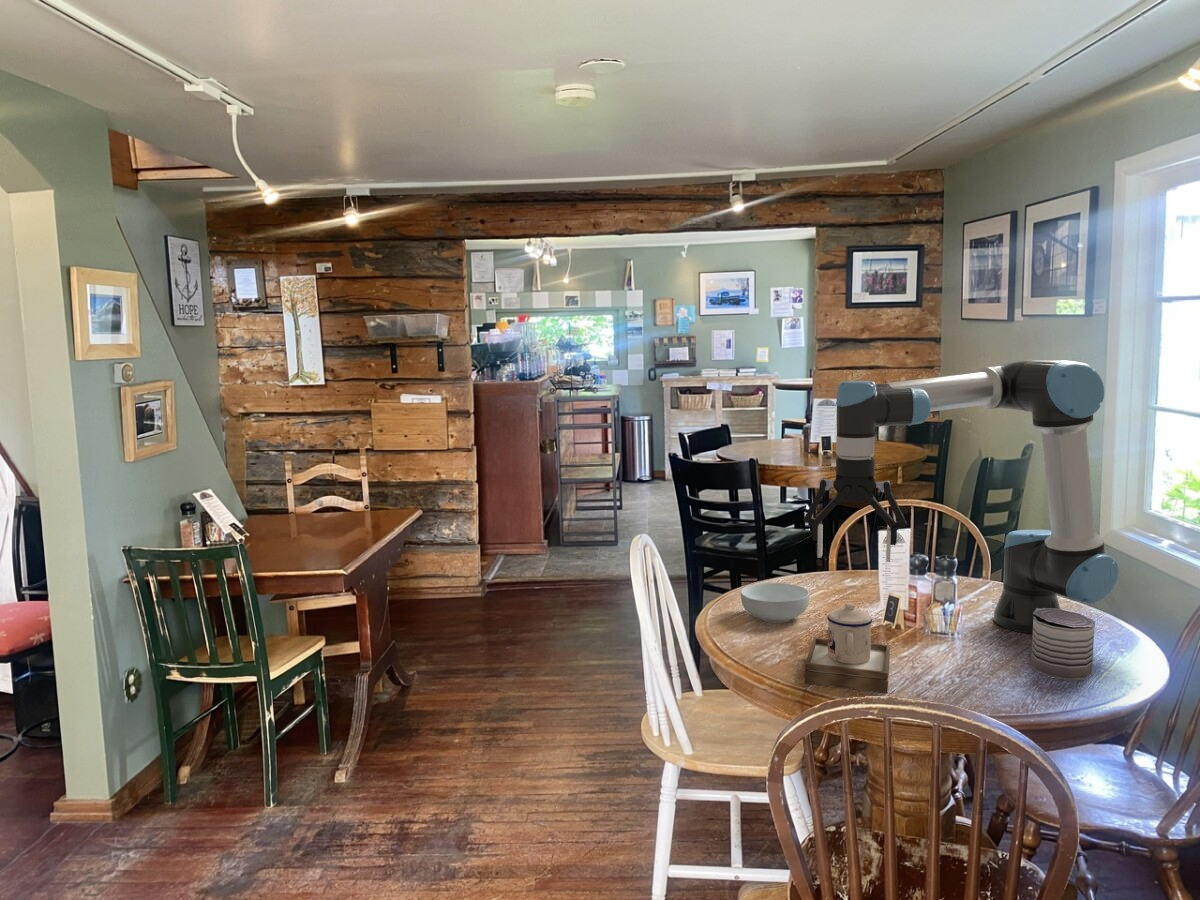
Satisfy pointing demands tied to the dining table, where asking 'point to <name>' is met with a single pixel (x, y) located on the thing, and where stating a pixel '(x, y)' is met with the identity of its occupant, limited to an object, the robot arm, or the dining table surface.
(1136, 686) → the dining table surface
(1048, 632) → the can
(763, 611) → the cereal bowl
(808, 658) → the wooden box
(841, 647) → the teacup with lid
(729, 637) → the dining table surface
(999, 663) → the dining table surface
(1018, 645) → the dining table surface
